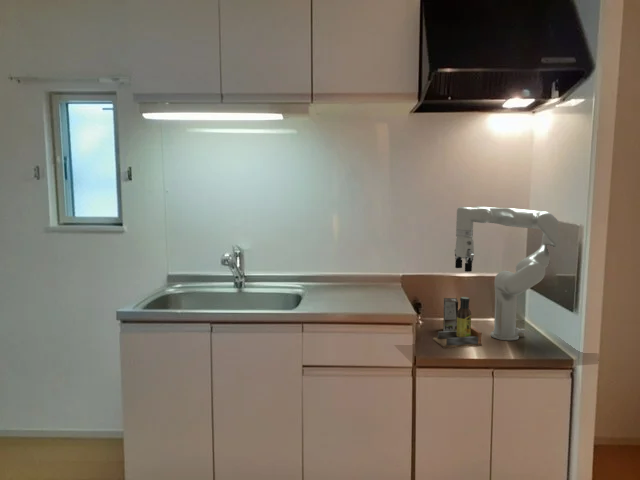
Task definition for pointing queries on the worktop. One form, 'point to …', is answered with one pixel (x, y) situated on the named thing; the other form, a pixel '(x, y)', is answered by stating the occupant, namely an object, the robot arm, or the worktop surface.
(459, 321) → the sauce bottle
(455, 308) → the coffee box
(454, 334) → the channel
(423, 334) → the worktop surface
